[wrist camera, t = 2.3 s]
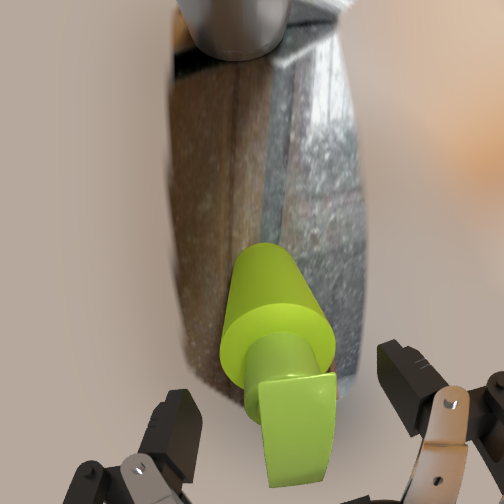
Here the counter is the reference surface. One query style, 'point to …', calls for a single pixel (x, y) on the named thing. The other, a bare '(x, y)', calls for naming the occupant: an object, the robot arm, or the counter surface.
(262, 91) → the counter surface
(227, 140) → the counter surface
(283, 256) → the soap dispenser
